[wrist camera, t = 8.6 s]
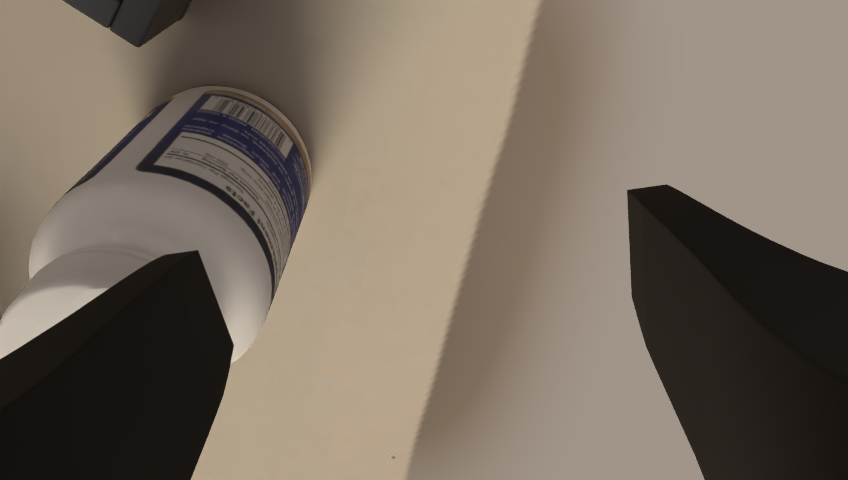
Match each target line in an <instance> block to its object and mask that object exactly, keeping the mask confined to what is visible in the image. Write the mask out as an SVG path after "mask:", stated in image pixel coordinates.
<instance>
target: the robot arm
mask: <svg viewBox="0 0 848 480" xmlns="http://www.w3.org/2000/svg"><path fill="white" fill-rule="evenodd" d="M627 195H628V217H629V218H628V219H629V242H630V265H631V288H632V299H633V302H634V306H635V309H636V313H637V317H638V320H639V324H640V327H641V331H642V334H643V337H644V341H645V344H646V347H647V349H648V351H649V354H650V356H651V358H652V361H653V363H654V365H655V368H656V370H657V372H658V374H659V377H660V379H661V381H662V383H663V385H664V388H665V390H666V392H667V394H668V396H669V399H670V401H671V403H672V405H673V408H674V410H675V412H676V414H677V416H678V419H679V421H680V423H681V425H682V427H683V430H684V432H685V434H686V436H687V439H688V441H689V443H690V445H691V447H692V449H693V452H694V454H695V456H696V459H697V461H698V464H699V466H700V469H701V471H702V474H703V476H704V479H705V480H848V272H847V271H844V270H841V269H838V268H835V267H833V266H830V265H827V264H824V263H822V262H819V261H817V260H814V259H812V258H809V257H807V256H804V255H802V254H800V253H798V252H795V251H793V250H791V249H789V248H787V247H784V246H782V245H780V244H778V243H776V242H773V241H771V240H769V239H767V238H765V237H763V236H761V235H759V234H757V233H755V232H753V231H751V230H749V229H747V228H745V227H743V226H741V225H740V224H738V223H736V222H734V221H732V220H730V219H728V218H726V217H725V216H723V215H721V214H719V213H718V212H716V211H714V210H712V209H711V208H709V207H707V206H705V205H704V204H702V203H700V202H698V201H696V200H695V199H693V198H691V197H689V196H688V195H686V194H684V193H682V192H681V191H679V190H677V189H675V188H673V187H671V186H668V185H660V186H653V187H646V188H639V189H632V190H628V191H627ZM233 348H234V344H233V341H232V339H231V336H230V333H229V331H228V328H227V325H226V323H225V320H224V317H223V315H222V312H221V310H220V307H219V304H218V302H217V299H216V296H215V294H214V291H213V288H212V286H211V283H210V280H209V278H208V275H207V272H206V270H205V267H204V264H203V262H202V259H201V256H200V254H199V251H198V250H195V251H188V252H180V253H173V254H166V255H163V256H161V257H159V258H157V259H155V260H153V261H151V262H149V263H147V264H146V265H144V266H143V267H141V268H139V269H138V270H136V271H135V272H133V273H131V274H130V275H128V276H127V277H125V278H124V279H122V280H121V281H119V282H118V283H116V284H115V285H113V286H112V287H110V288H109V289H108V290H106V291H105V292H103V293H102V294H100V295H99V296H97V297H96V298H94V299H93V300H91V301H90V302H88V303H87V304H86V305H84V306H83V307H81V308H80V309H78V310H77V311H75V312H74V313H72V314H71V315H69V316H68V317H66V318H65V319H63V320H62V321H60V322H58V323H57V324H55V325H54V326H52V327H51V328H49V329H48V330H46V331H44V332H43V333H41V334H40V335H38V336H37V337H35V338H33V339H32V340H30V341H29V342H27V343H26V344H24V345H23V346H21V347H19V348H18V349H16V350H15V351H13V352H11V353H10V354H8V355H6V356H5V357H3V358H1V359H0V480H191V477H192V475H193V472H194V470H195V467H196V464H197V462H198V459H199V457H200V454H201V452H202V449H203V447H204V444H205V442H206V439H207V437H208V434H209V432H210V429H211V426H212V424H213V421H214V419H215V416H216V413H217V411H218V408H219V405H220V403H221V400H222V397H223V394H224V390H225V386H226V382H227V378H228V373H229V368H230V363H231V358H232V353H233Z"/></svg>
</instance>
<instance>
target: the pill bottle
mask: <svg viewBox="0 0 848 480" xmlns="http://www.w3.org/2000/svg"><path fill="white" fill-rule="evenodd" d="M311 185H312V171H311V164H310V159H309V156H308V152H307V149H306V147H305V144H304V142H303V140H302V138H301V137H300V135H299V133H298V132H297V130H296V129H295V127H294V126H293V125H292V123H291V122H290V121H289V120H288V119H287V118H286V117H285V116H284V115H283V114H282V113H281V112H280V111H279V110H278V109H276V108H275V107H274V106H272V105H271V104H270V103H268V102H267V101H265V100H263V99H262V98H260V97H258V96H256V95H253V94H251V93H249V92H246V91H243V90H240V89H235V88H231V87H223V86H203V87H197V88H192V89H188V90H185V91H183V92H180V93H178V94H176V95H174V96H172V97H170V98H169V99H167V100H165V101H164V102H162V103H161V104H160V105H158V106H157V107H156V108H154V109H153V110H152V111H151V112H150V113H149V114H148V115H146V116H145V117H144V118H143V119H142V120H141V121H140V122H139V123H138V124H137V125H136V126H135V127H134V128H133V129H132V130H131V131H130V132H129V133H128V134H127V135H126V136H125V137H124V138H123V139H122V140H121V141H120V142H119V143H118V144H117V145H116V146H115V147H114V148H113V149H112V150H111V151H110V152H109V153H108V154H107V155H105V156H104V157H103V158H102V159H101V160H100V161H99V162H98V163H97V164H96V165H95V166H94V167H93V168H92V169H91V170H90V171H89V172H88V173H87V174H86V175H85V176H84V177H82V178H81V179H80V180H79V181H78V182H77V183H76V184H75V185H74V186H73V187H72V188H71V189H70V190H69V191H68V192H67V193H65V195H64V196H63V197H62V198H61V199H60V200H59V201H58V202H57V203H56V204H55V205H54V206H53V208H52V209H51V210H50V211H49V213H48V214H47V215H46V216H45V218H44V219H43V221H42V222H41V224H40V226H39V228H38V230H37V232H36V234H35V236H34V239H33V242H32V246H31V251H30V257H29V278H30V281H29V283H28V284H27V285H26V287H25V288H24V289H23V290H22V291H21V292H20V294H19V295H18V296H17V297H16V298H15V299H14V301H13V302H12V303H11V304H10V305H9V306H8V308H7V309H6V311H5V312H4V314H3V316H2V318H1V320H0V359H1V358H3V357H5V356H6V355H8V354H10V353H11V352H13V351H15V350H16V349H18V348H19V347H21V346H23V345H24V344H26V343H27V342H29V341H30V340H32V339H33V338H35V337H37V336H38V335H40V334H41V333H43V332H44V331H46V330H48V329H49V328H51V327H52V326H54V325H55V324H57V323H58V322H60V321H62V320H63V319H65V318H66V317H68V316H69V315H71V314H72V313H74V312H75V311H77V310H78V309H80V308H81V307H83V306H84V305H86V304H87V303H88V302H90V301H91V300H93V299H94V298H96V297H97V296H99V295H100V294H102V293H103V292H105V291H106V290H108V289H109V288H110V287H112V286H113V285H115V284H116V283H118V282H119V281H121V280H122V279H124V278H125V277H127V276H128V275H130V274H131V273H133V272H135V271H136V270H138V269H139V268H141V267H143V266H144V265H146V264H147V263H149V262H151V261H153V260H155V259H157V258H159V257H161V256H163V255H166V254H173V253H180V252H188V251H195V250H198V251H199V254H200V256H201V259H202V262H203V264H204V267H205V270H206V272H207V275H208V278H209V280H210V283H211V286H212V288H213V291H214V294H215V296H216V299H217V302H218V304H219V307H220V310H221V312H222V315H223V317H224V320H225V323H226V325H227V328H228V331H229V333H230V336H231V339H232V341H233V344H234V348H233V353H232V358H231V363H230V364H232V363H233V362H235V361H236V360H237V359H238V358H240V357H241V356H242V355H243V354H244V353H245V352H246V351H247V350H248V349H249V347H250V346H251V345H252V343H253V342H254V341H255V339H256V337H257V336H258V334H259V332H260V330H261V328H262V326H263V324H264V322H265V320H266V316H267V314H268V311H269V309H270V306H271V304H272V301H273V298H274V295H275V293H276V290H277V287H278V284H279V281H280V278H281V276H282V273H283V270H284V268H285V265H286V262H287V259H288V257H289V254H290V251H291V248H292V245H293V242H294V240H295V237H296V234H297V232H298V229H299V226H300V223H301V221H302V218H303V215H304V213H305V210H306V207H307V203H308V200H309V196H310V192H311Z"/></svg>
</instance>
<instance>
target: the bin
mask: <svg viewBox="0 0 848 480" xmlns="http://www.w3.org/2000/svg"><path fill="white" fill-rule="evenodd" d="M63 1H65V2H66V3H68V4H69V5H71V6H72V7H74V8H76V9H77V10H79V11H80V12H82V13H84V14H85V15H87V16H88V17H90V18H91V19H93V20H95V21H96V22H98V23H99V24H101V25H103V26H104V27H107V28H109V27H110V30H111V31H112V32H114V33H115V34H117V35H118V36H120V37H121V38H123V39H125V40H126V41H128V42H129V43H131V44H133V45H134V46H136V47H140V46H142V45H143V44H145V43H146V42H148V41H149V40H151V39H152V38H153V37H155V36H156V35H158V34H159V33H161V32H162V31H163V30H165V29H166V28H168V27H169V26H171V25H172V24H173V23H175V22H176V21H179V20H181V19H182V18H183V16H184V14H185V12H186V10H187V8H188V6H189V4H190V3H191V1H192V0H63Z"/></svg>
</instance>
